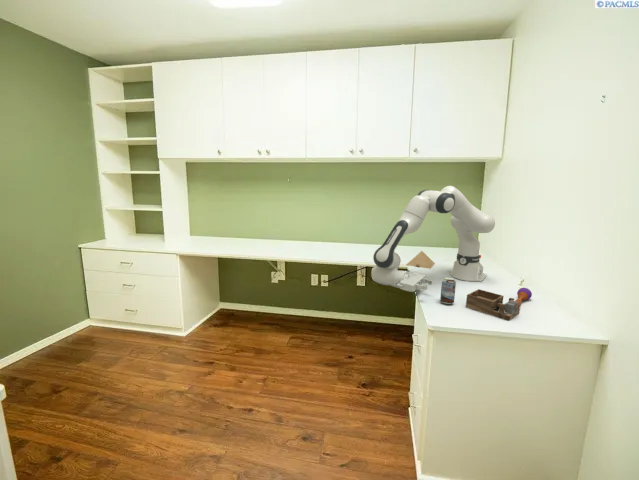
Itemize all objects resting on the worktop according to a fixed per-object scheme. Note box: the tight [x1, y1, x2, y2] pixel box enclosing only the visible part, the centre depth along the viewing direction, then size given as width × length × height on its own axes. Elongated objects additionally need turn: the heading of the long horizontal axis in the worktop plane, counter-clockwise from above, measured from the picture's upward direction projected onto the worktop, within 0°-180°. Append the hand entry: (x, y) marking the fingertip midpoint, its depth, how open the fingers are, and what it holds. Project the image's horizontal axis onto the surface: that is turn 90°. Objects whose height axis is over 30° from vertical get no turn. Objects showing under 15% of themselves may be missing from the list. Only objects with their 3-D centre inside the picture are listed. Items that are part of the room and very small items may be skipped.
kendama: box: [514, 287, 533, 309], centre depth 150 cm, size 6×6×20 cm
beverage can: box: [440, 277, 457, 305], centre depth 148 cm, size 6×7×12 cm
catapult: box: [465, 289, 521, 322], centre depth 141 cm, size 12×18×6 cm, turn 41°
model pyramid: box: [405, 250, 436, 270], centre depth 216 cm, size 17×17×10 cm
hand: (429, 285), depth 152 cm, fingers open, 8 cm apart
